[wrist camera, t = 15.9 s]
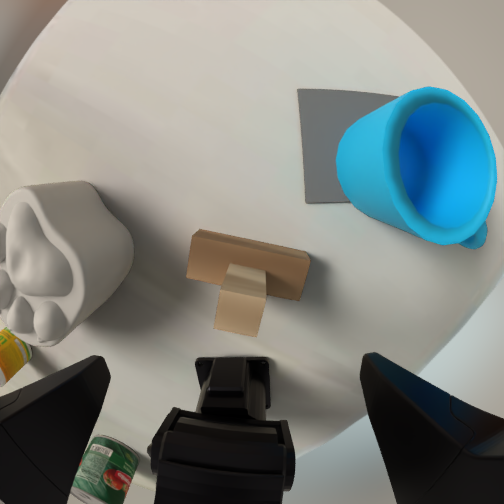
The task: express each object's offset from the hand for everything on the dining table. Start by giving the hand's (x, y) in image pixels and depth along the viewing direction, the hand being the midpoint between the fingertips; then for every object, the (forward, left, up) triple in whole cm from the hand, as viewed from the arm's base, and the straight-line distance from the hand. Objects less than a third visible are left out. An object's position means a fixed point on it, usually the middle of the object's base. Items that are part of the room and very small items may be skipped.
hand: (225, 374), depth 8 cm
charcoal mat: (+8, -11, -13) cm, 19 cm away
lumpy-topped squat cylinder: (+1, +16, -13) cm, 21 cm away
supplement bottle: (-10, +31, -13) cm, 35 cm away
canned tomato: (-29, +22, -13) cm, 39 cm away
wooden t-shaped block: (-1, 0, -13) cm, 13 cm away
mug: (+5, -12, -13) cm, 19 cm away
